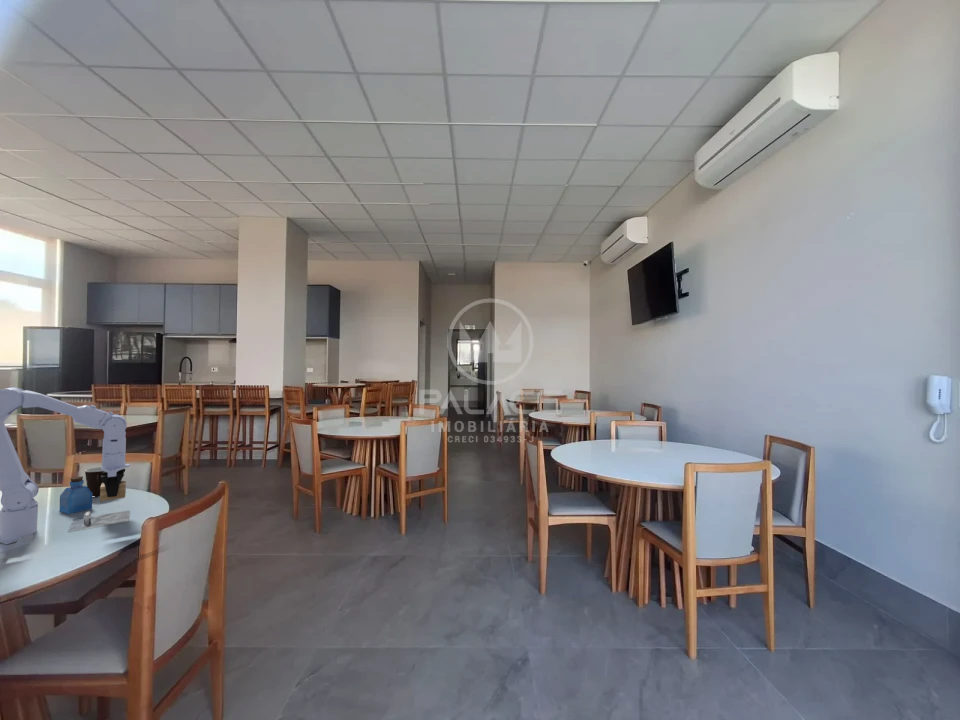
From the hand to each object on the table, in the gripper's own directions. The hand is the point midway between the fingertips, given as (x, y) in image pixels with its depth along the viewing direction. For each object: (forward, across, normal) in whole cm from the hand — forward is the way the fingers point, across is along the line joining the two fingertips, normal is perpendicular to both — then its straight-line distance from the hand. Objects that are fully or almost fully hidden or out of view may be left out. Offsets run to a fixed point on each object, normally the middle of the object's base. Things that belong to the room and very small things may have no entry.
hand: (112, 494), depth 135 cm
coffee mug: (+9, +38, +6) cm, 39 cm away
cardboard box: (+1, 0, 0) cm, 1 cm away
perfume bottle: (+9, +18, +10) cm, 23 cm away
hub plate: (+9, 0, +3) cm, 9 cm away
